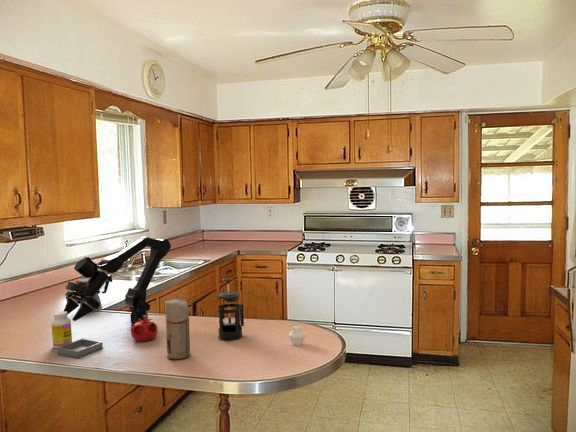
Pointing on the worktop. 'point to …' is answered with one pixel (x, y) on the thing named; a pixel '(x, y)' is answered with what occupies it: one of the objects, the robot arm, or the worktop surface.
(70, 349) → the tray
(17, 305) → the worktop surface
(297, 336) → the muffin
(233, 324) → the french press
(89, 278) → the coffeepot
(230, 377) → the worktop surface
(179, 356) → the spray can
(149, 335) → the red ball with holes
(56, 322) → the supplement bottle
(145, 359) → the worktop surface
